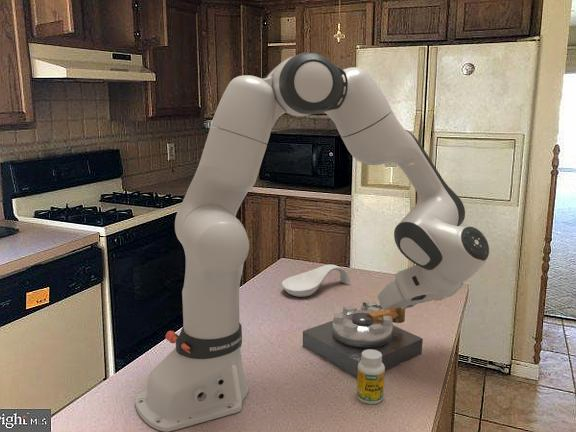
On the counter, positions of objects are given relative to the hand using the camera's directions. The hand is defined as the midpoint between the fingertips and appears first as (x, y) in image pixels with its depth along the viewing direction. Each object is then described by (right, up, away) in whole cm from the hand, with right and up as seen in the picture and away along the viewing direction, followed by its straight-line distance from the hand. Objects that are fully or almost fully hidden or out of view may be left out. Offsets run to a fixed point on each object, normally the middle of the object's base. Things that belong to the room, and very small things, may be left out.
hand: (405, 305), depth 123 cm
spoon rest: (-19, -2, +39) cm, 44 cm away
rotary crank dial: (-8, -6, 0) cm, 10 cm away
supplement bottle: (-11, -15, -19) cm, 27 cm away
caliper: (-2, -6, +22) cm, 23 cm away
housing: (-10, -11, 0) cm, 15 cm away
